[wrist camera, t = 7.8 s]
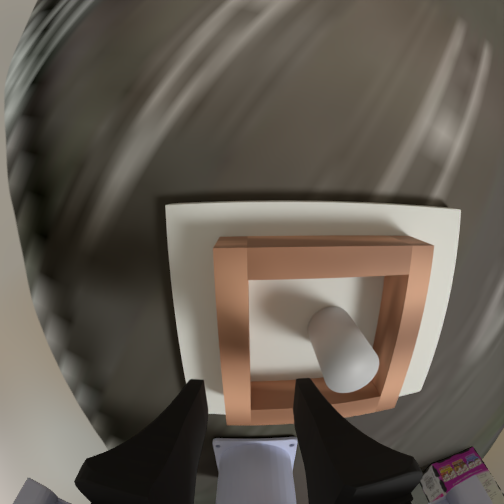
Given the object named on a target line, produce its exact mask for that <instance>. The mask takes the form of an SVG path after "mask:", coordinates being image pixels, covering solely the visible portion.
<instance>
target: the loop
mask: <svg viewBox="0 0 504 504" xmlns="http://www.w3.org/2000/svg"><path fill="white" fill-rule="evenodd" d="M433 253H434V245H432V244H429V243H427V242H424V241H421V240H419V239H416V238H414V237H411V236H383V235H318V236H232V237H219V239H218V240H217V242H216V244H215V246H214V247H213V261H214V279H215V296H216V311H217V325H218V338H219V350H220V362H221V373H222V383H223V393H224V403H225V412H226V421H227V425H276V424H293V423H294V415H293V403H294V393H295V383H296V380H281V381H251V375H250V331H249V282H248V280H284V279H319V278H346V277H369V276H385V277H384V284H383V292H382V299H381V305H380V311H379V317H378V323H377V328H376V333H375V338H374V343H373V350H374V351H375V353H376V354H377V356H378V358H379V368H378V371H377V373H376V375H375V376H374V378H373V379H372V380H371V381H370V382H369V383H368V384H367V385H365V386H364V387H362V388H361V389H359V390H356V391H353V392H349V393H338V392H335V391H332V390H331V389H330V388H328V386H327V385H326V383H325V380H324V377H323V378H312V379H311V380H312V381H313V383H314V384H315V385H316V387H317V388H318V389H319V391H320V392H321V393H322V395H323V396H324V397H325V398H326V399H327V401H328V402H329V403H330V404H331V405H332V406H333V407H334V408H335V409H336V410H337V411H338V412H339V413H340V414H341V415H342V416H343V417H344V418H345V417H351V416H357V415H362V414H367V413H373V412H377V411H382V410H386V409H391V408H394V407H395V405H396V402H397V399H398V397H399V394H400V391H401V389H402V386H403V383H404V380H405V377H406V374H407V371H408V368H409V365H410V361H411V358H412V355H413V351H414V348H415V344H416V341H417V337H418V333H419V329H420V325H421V321H422V316H423V312H424V307H425V302H426V297H427V292H428V286H429V281H430V274H431V268H432V261H433Z"/></svg>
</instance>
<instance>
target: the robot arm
mask: <svg viewBox="0 0 504 504" xmlns="http://www.w3.org/2000/svg"><path fill="white" fill-rule="evenodd" d="M293 415H294V424H295V430H296V434H297V438H298V441H297V438H296V437H283V438H259V439H232V438H215V439H213V448H214V453H215V458H216V463H217V467H218V472H219V474H218V485H217V496H216V504H296V496H295V489H294V481H293V473H292V470H293V465H294V459H295V454H296V448H297V442H299V446H300V450H301V454H302V458H303V462H304V466H305V472H306V480H307V488H308V498H309V504H411V501H412V500H413V497H412V494H411V492H412V491H413V490H414V488H415V487H416V486H417V485H418V484H419V482H420V481H421V479H422V477H423V473H422V471H421V469H420V467H419V465H418V463H417V462H416V460H415V459H414V457H412V456H409V455H406V454H403V453H401V452H398V451H395V450H393V449H391V448H388V447H386V446H384V445H382V444H380V443H378V442H377V441H375V440H373V439H372V438H370V437H368V436H367V435H365V434H364V433H362V432H361V431H359V430H358V429H357V428H356V427H354V426H353V425H352V424H351V423H349V422H348V421H347V420H346V419H345V418H344V417H343V416H342V415H341V414H340V413H339V412H338V411H337V410H336V409H335V408H334V407H333V406H332V405H331V404H330V403H329V402H328V401H327V399H326V398H325V397H324V396H323V395H322V393H321V392H320V391H319V389H318V388H317V387H316V385H315V384H314V383H313V381H312V380H311V379H310V378H298V379H296V383H295V393H294V403H293ZM207 421H208V404H207V397H206V391H205V384H204V380H200V379H190V380H189V381H188V382H187V384H186V385H185V386H184V388H183V389H182V390H181V392H180V393H179V394H178V395H177V397H176V398H175V399H174V400H173V401H172V403H171V404H170V405H169V406H168V407H167V408H166V409H165V410H164V411H163V412H162V413H161V414H160V415H159V416H158V417H157V418H156V419H155V420H154V421H153V422H152V423H151V424H150V425H148V426H147V427H146V428H145V429H143V430H142V431H141V432H139V433H138V434H137V435H135V436H134V437H132V438H131V439H129V440H128V441H126V442H124V443H122V444H121V445H119V446H117V447H115V448H113V449H111V450H109V451H106V452H104V453H101V454H99V455H96V456H93V457H90V458H87V459H86V460H85V462H84V463H83V465H82V467H81V469H80V471H79V473H78V475H77V477H76V479H75V481H74V482H75V485H76V487H77V488H78V489H79V490H80V492H81V493H82V494H83V495H84V496H85V497H86V498H87V499H88V500H89V501H90V502H91V504H194V494H195V483H196V474H197V468H198V463H199V459H200V454H201V450H202V446H203V442H204V438H205V433H206V429H207ZM13 504H71V503H68V502H66V501H64V500H62V499H60V498H58V497H57V496H56V495H55V494H54V493H53V492H52V491H51V490H50V489H48V488H47V487H45V486H44V485H42V484H40V483H38V482H36V481H34V480H33V479H31V478H27V480H26V482H25V484H24V485H23V487H22V489H21V490H20V492H19V494H18V496H17V497H16V499H15V501H14V503H13ZM428 504H493V503H492V501H491V499H490V497H489V496H488V494H487V492H486V491H485V489H484V487H483V485H482V484H481V482H480V481H479V479H478V477H477V476H476V475H473V476H471V477H470V478H468V479H466V480H465V481H463V482H461V483H459V484H457V485H456V486H454V487H453V488H452V489H451V490H450V491H449V492H448V493H447V494H446V495H445V496H443V497H441V498H439V499H437V500H435V501H433V502H431V503H428Z"/></svg>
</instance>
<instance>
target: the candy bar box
mask: <svg viewBox="0 0 504 504" xmlns="http://www.w3.org/2000/svg"><path fill="white" fill-rule="evenodd" d="M473 475H476V476H477V477H478V479H479V481H480V482H481V484H482V485H483V487H484V489H485V491H486V492H487V494H488V496H489V497H490V499H491V501H492V503H493V504H504V494H503V492H502V491H501V489H500V487H499V486H498V484H497V483H496V481H495V479H494V478H493V476H492V475H491V473H490V471H489V470H488V468H487V467H486V465H485V464H484V462H483V461H482V459H481V458H480V456H479V455H478V453H477V452H476V450H475V449H474V447H471V448H469V449H467V450H465V451H462V452H460V453H458V454H456V455H453V456H451V457H449V458H446V459H444V460H441V461H439V462H436V463H433V464H431V465H430V466H429V467H428V468H427V469H426V471H425V472H424V473H423V477H422V479H421V481H420V482H419V483H420V485H421V487H422V489H423V491H424V493H425V495H426V497H427V500H428V502H429V503H431V502H433V501H435V500H437V499H439V498H441V497H443V496H445V495H446V494H447V493H448V492H449V491H450V490H451V489H452V488H453V487H454V486H456V485H457V484H459V483H461V482H463V481H465V480H466V479H468V478H470V477H471V476H473Z"/></svg>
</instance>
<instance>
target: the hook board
mask: <svg viewBox="0 0 504 504" xmlns="http://www.w3.org/2000/svg"><path fill="white" fill-rule="evenodd" d="M165 209H166V227H167V241H168V254H169V265H170V276H171V285H172V294H173V302H174V310H175V318H176V325H177V332H178V339H179V345H180V352H181V358H182V363H183V369H184V375H185V380H186V384H187V382H188V381H189V380H190V379H200V380H204V384H205V391H206V397H207V404H208V414H226V412H225V403H224V393H223V383H222V373H221V362H220V350H219V338H218V325H217V311H216V296H215V279H214V261H213V247H214V246H215V244H216V242H217V240H218V239H219V237H232V236H318V235H383V236H411V237H414V238H416V239H419V240H421V241H424V242H427V243H429V244H432V245H434V253H433V261H432V268H431V274H430V281H429V286H428V292H427V297H426V302H425V307H424V312H423V316H422V321H421V325H420V329H419V333H418V337H417V341H416V344H415V348H414V351H413V355H412V358H411V361H410V365H409V368H408V371H407V374H406V377H405V380H404V383H403V386H402V389H401V391H400V394H399V396H403V395H407V394H411V393H415V392H419V391H421V389H422V386H423V384H424V381H425V378H426V376H427V373H428V370H429V367H430V364H431V362H432V359H433V356H434V352H435V349H436V346H437V343H438V339H439V336H440V332H441V329H442V325H443V321H444V317H445V313H446V309H447V305H448V300H449V296H450V291H451V286H452V280H453V275H454V269H455V262H456V255H457V248H458V239H459V229H460V216H461V210H459V209H454V208H448V207H436V206H423V205H409V204H393V203H373V202H347V201H295V200H270V201H217V202H191V203H172V204H168V205H165ZM384 277H385V276H369V277H346V278H319V279H284V280H248V282H249V331H250V375H251V381H281V380H296V379H298V378H310V379H312V378H323V377H324V380H325V383H326V385H327V386H328V388H330V389H331V390H332V391H335V392H338V393H349V392H353V391H356V390H359V389H361V388H362V387H364V386H365V385H367V384H368V383H369V382H370V381H371V380H372V379H373V378H374V376H375V375H376V373H377V371H378V368H379V358H378V356H377V354H376V353H375V351H374V350H373V343H374V338H375V333H376V328H377V323H378V317H379V311H380V305H381V299H382V292H383V284H384Z"/></svg>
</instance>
